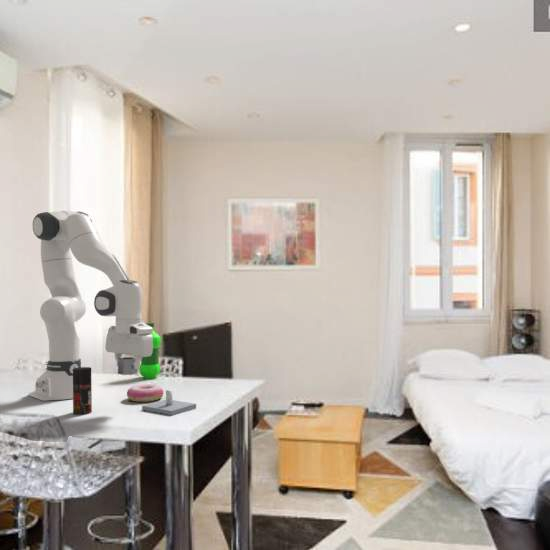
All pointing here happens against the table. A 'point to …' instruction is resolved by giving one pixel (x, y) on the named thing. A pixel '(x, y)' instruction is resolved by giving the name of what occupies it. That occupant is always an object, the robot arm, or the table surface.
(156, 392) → the donut
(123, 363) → the ring
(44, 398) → the robot arm
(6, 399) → the table surface
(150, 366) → the plastic bottle
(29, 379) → the table surface
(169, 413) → the shaft block
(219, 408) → the table surface
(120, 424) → the table surface
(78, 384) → the deodorant
